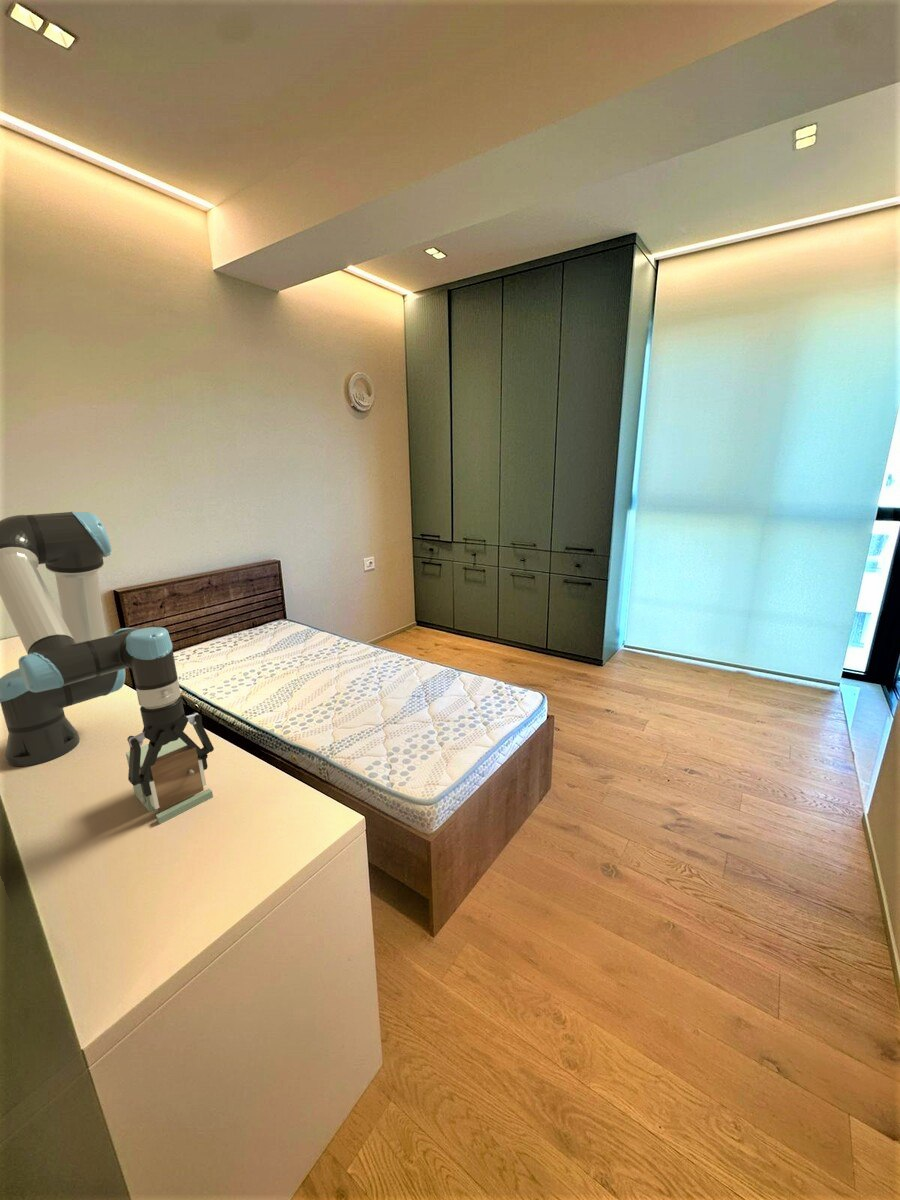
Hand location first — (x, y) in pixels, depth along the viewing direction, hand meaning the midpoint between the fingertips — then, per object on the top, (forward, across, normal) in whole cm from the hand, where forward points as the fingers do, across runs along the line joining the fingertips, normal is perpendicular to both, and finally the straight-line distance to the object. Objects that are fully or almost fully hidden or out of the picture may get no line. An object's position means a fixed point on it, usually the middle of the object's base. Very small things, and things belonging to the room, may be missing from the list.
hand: (179, 794), depth 104 cm
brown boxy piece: (+1, 0, 0) cm, 1 cm away
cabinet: (+2, 0, +4) cm, 5 cm away
